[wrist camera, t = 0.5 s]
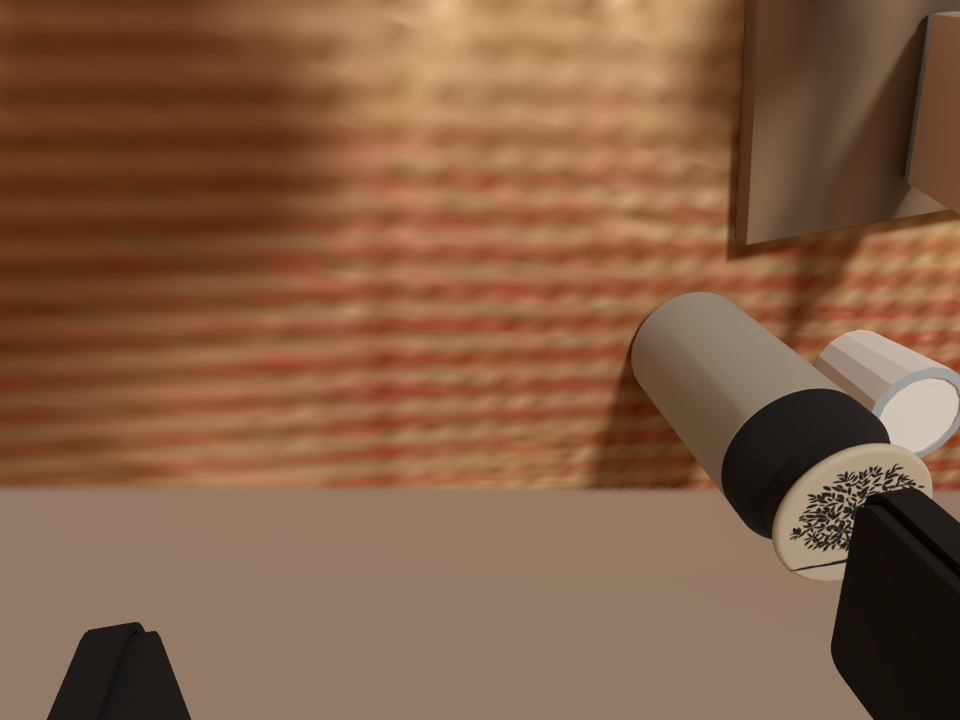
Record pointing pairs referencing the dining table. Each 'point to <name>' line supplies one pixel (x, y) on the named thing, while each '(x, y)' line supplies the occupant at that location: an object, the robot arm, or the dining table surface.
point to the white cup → (896, 388)
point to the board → (828, 114)
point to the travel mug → (769, 429)
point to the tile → (937, 114)
